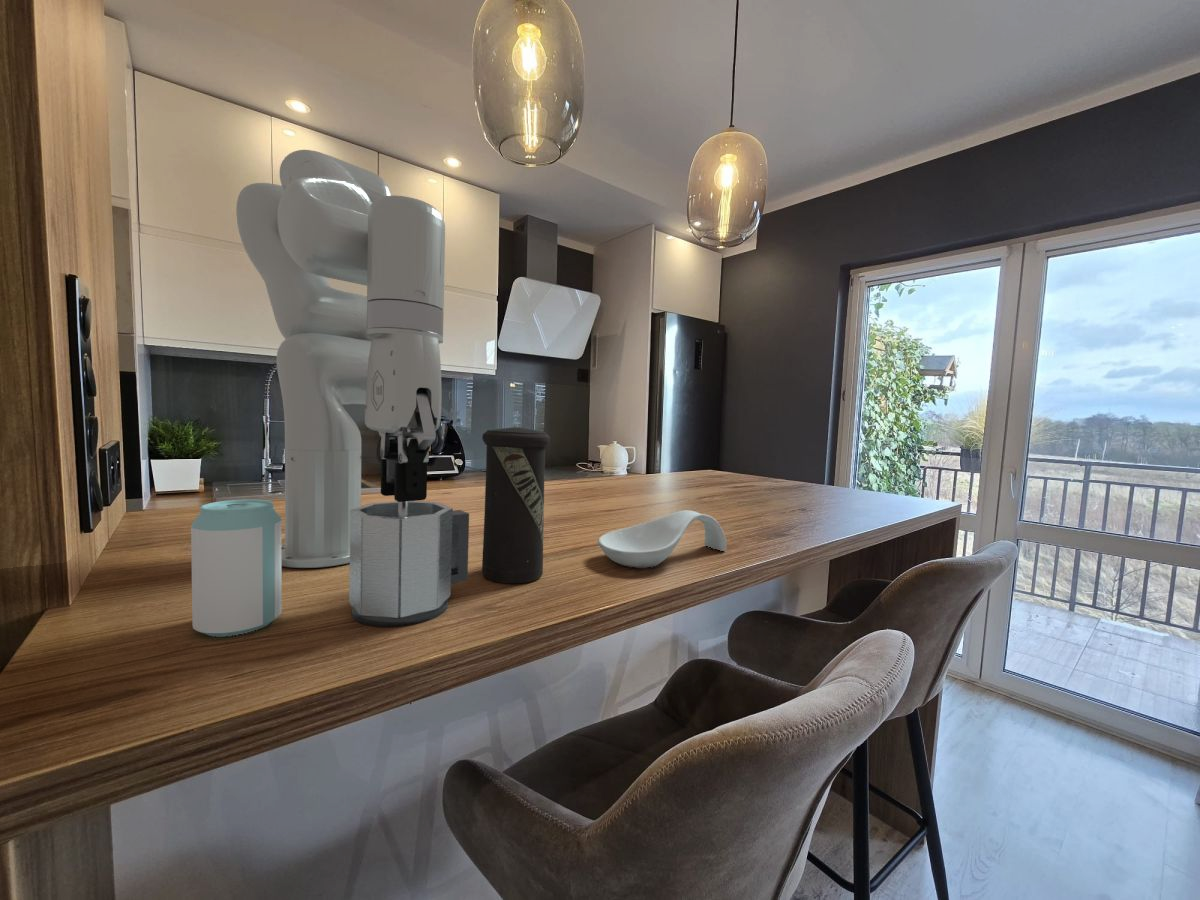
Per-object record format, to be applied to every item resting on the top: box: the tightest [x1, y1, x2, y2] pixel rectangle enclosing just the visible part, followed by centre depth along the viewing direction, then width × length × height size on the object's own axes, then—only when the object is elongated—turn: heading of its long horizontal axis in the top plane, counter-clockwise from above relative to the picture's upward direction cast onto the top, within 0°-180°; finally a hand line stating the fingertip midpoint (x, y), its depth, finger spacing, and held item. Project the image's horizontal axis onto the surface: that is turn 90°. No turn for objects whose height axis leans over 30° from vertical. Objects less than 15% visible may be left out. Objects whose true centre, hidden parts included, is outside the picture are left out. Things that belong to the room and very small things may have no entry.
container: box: [481, 427, 551, 584], centre depth 66 cm, size 9×9×20 cm
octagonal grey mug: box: [348, 500, 470, 628], centre depth 55 cm, size 10×12×11 cm
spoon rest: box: [597, 509, 727, 569], centre depth 79 cm, size 24×12×7 cm, turn 125°
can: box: [190, 499, 282, 638], centre depth 48 cm, size 7×7×12 cm
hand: (403, 495), depth 53 cm, fingers closed on plunger, 3 cm apart
